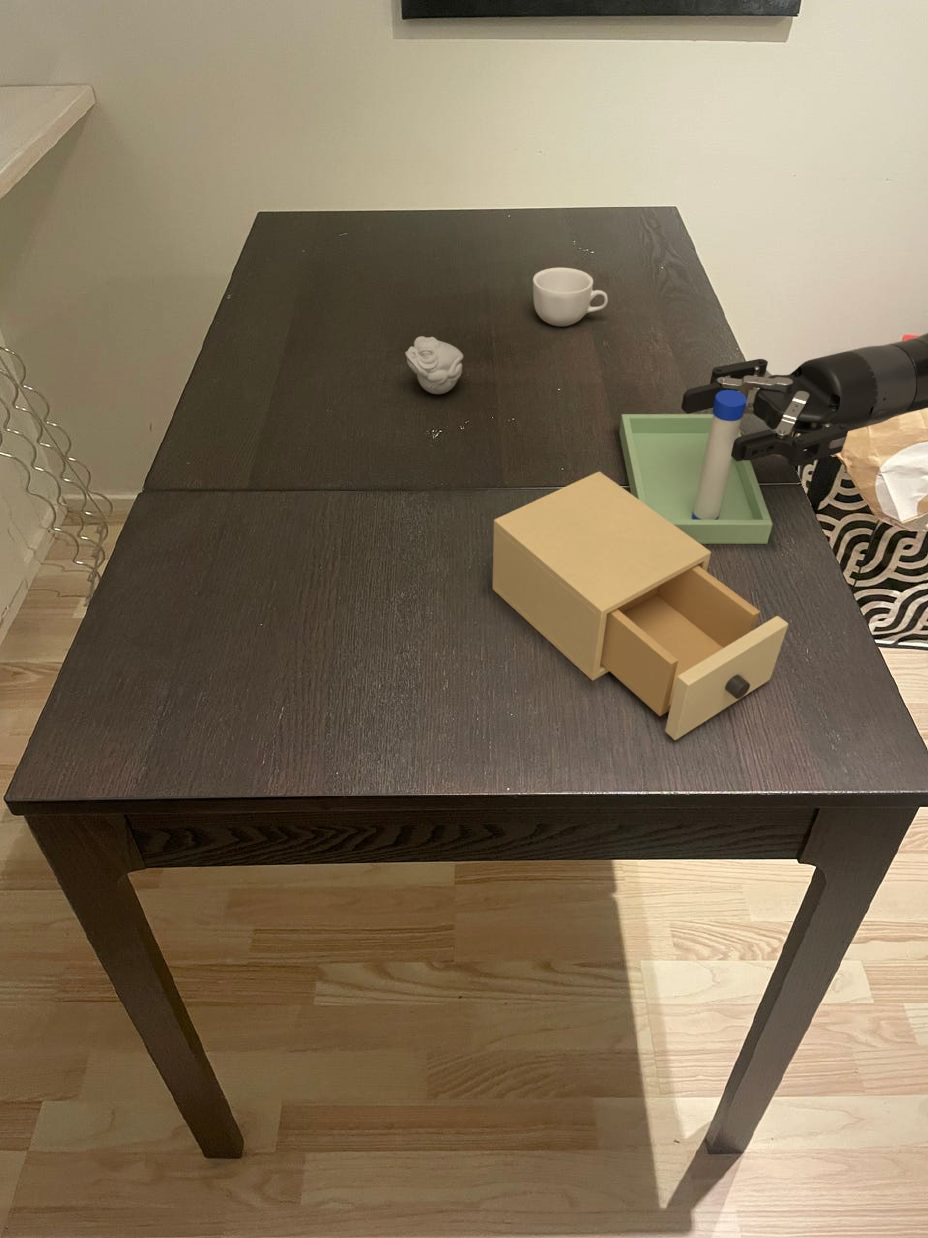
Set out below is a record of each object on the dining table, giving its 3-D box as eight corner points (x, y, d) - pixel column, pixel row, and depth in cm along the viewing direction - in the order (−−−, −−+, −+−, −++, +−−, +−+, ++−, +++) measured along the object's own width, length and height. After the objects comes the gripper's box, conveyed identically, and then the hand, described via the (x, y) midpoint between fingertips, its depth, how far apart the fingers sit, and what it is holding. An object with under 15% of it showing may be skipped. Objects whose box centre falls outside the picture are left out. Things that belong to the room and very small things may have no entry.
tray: (767, 543, 95) (773, 524, 93) (640, 543, 95) (643, 524, 93) (729, 432, 109) (733, 413, 107) (619, 432, 109) (621, 413, 107)
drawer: (781, 688, 80) (800, 632, 75) (685, 750, 75) (700, 695, 71) (659, 592, 89) (670, 536, 84) (567, 643, 84) (572, 587, 79)
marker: (722, 514, 97) (750, 394, 87) (714, 530, 95) (741, 408, 86) (695, 506, 98) (720, 386, 88) (687, 521, 96) (711, 401, 87)
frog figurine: (401, 383, 117) (398, 330, 112) (456, 374, 118) (455, 321, 113) (414, 409, 112) (412, 355, 108) (471, 399, 114) (471, 345, 109)
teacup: (525, 328, 126) (527, 289, 122) (537, 302, 132) (539, 264, 128) (600, 337, 124) (604, 298, 121) (609, 310, 130) (613, 272, 126)
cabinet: (695, 621, 87) (711, 551, 81) (592, 681, 82) (601, 611, 76) (591, 539, 95) (599, 470, 89) (492, 589, 90) (493, 519, 84)
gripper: (816, 321, 94) (674, 353, 90) (915, 392, 85) (762, 431, 81) (798, 388, 100) (663, 421, 95) (889, 461, 90) (744, 502, 86)
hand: (708, 425), depth 88 cm, fingers open, 8 cm apart
